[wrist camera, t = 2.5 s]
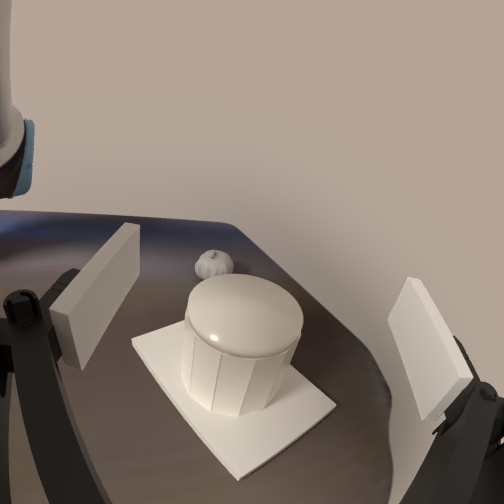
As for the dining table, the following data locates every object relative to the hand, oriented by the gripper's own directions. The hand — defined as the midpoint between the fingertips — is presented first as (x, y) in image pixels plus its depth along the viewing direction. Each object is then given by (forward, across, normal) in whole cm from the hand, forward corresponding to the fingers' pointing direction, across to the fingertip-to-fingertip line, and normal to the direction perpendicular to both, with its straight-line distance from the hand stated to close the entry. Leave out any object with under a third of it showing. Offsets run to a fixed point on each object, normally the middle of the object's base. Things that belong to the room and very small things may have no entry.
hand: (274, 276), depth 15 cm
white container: (+10, 0, -20) cm, 23 cm away
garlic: (+29, -5, -21) cm, 37 cm away
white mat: (+10, 0, -21) cm, 23 cm away
